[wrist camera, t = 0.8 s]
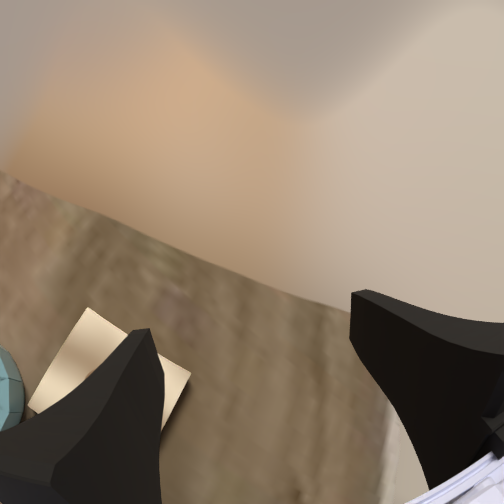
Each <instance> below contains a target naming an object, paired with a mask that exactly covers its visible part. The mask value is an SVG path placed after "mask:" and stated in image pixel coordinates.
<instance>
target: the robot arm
mask: <svg viewBox="0 0 504 504" xmlns="http://www.w3.org/2000/svg"><path fill="white" fill-rule="evenodd" d="M349 339H350V341H351V343H352V345H353V347H354V349H355V351H356V353H357V355H358V357H359V358H360V360H361V361H362V363H363V364H364V366H365V367H366V369H367V370H368V371H369V373H370V374H371V375H372V377H373V378H374V380H375V381H376V382H377V384H378V385H379V386H380V388H381V389H382V391H383V392H384V393H385V395H386V396H387V398H388V399H389V400H390V402H391V404H392V405H393V407H394V408H395V410H396V412H397V414H398V416H399V418H400V420H401V422H402V423H403V425H404V427H405V429H406V432H407V434H408V436H409V438H410V440H411V442H412V444H413V446H414V449H415V451H416V454H417V456H418V459H419V461H420V464H421V466H422V469H423V472H424V475H425V478H426V481H427V484H428V487H429V491H428V492H426V493H424V494H423V495H420V496H419V497H417V498H415V499H413V500H411V501H409V502H406V503H405V504H504V323H492V322H482V321H474V320H467V319H462V318H457V317H452V316H447V315H443V314H440V313H436V312H432V311H429V310H426V309H423V308H420V307H417V306H414V305H411V304H408V303H406V302H402V301H400V300H397V299H394V298H392V297H389V296H386V295H384V294H381V293H377V292H374V291H371V290H367V289H365V290H361V291H356V292H352V293H351V318H350V336H349ZM164 401H165V373H164V370H163V368H162V365H161V362H160V359H159V356H158V353H157V350H156V347H155V344H154V341H153V338H152V335H151V332H150V328H147V329H139V330H133V331H132V332H131V333H130V334H129V335H128V336H127V337H126V338H125V339H124V340H123V341H122V342H121V343H120V344H119V345H118V346H117V347H116V349H115V350H114V351H113V352H112V353H111V354H110V355H109V356H108V357H107V358H106V359H105V360H104V361H103V363H102V364H100V365H99V366H98V367H97V368H96V369H95V370H94V371H93V372H92V373H91V374H90V375H89V376H88V377H87V378H86V379H85V380H84V381H83V382H82V383H81V384H79V385H78V386H77V387H76V388H75V389H73V390H72V391H71V392H70V393H68V394H67V395H66V396H65V397H63V398H62V399H60V400H59V401H57V402H56V403H54V404H53V405H51V406H50V407H48V408H47V409H45V410H44V411H42V412H41V413H39V414H37V415H35V416H34V417H32V418H30V419H28V420H26V421H24V422H22V423H20V424H18V425H16V426H14V427H11V428H9V429H6V430H4V431H1V432H0V502H1V503H2V504H162V500H161V489H160V474H159V446H160V436H161V427H162V418H163V410H164Z"/></svg>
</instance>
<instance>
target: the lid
mask: <svg viewBox="0 0 504 504" xmlns="http://www.w3.org/2000/svg"><path fill="white" fill-rule="evenodd" d="M127 336H128V335H127V334H126V333H124V332H123V331H121V330H120V329H118V328H117V327H115V326H114V325H112V324H111V323H109V322H108V321H107V320H105V319H104V318H102V317H101V316H99V315H98V314H97V313H95V312H94V311H92V310H91V309H90V308H87V309H86V311H85V312H84V314H83V315H82V317H81V318H80V319H79V321H78V322H77V324H76V325H75V327H74V329H73V330H72V332H71V333H70V335H69V336H68V338H67V339H66V341H65V342H64V344H63V346H62V347H61V349H60V350H59V352H58V354H57V355H56V357H55V358H54V360H53V362H52V363H51V365H50V367H49V368H48V370H47V372H46V373H45V375H44V377H43V379H42V380H41V382H40V384H39V385H38V387H37V389H36V391H35V393H34V394H33V396H32V398H31V400H30V402H29V403H28V406H29V407H30V408H31V409H33V410H34V411H35V412H36V413H38V414H39V413H41V412H42V411H44V410H45V409H47V408H48V407H50V406H51V405H53V404H54V403H56V402H57V401H59V400H60V399H62V398H63V397H65V396H66V395H67V394H68V393H70V392H71V391H72V390H73V389H75V388H76V387H77V386H78V385H79V384H81V383H82V382H83V381H84V380H85V379H86V378H87V377H88V376H89V375H90V374H91V373H92V372H93V371H94V370H95V369H96V368H97V367H98V366H99V365H100V364H102V363H103V361H104V360H105V359H106V358H107V357H108V356H109V355H110V354H111V353H112V352H113V351H114V350H115V349H116V347H117V346H118V345H119V344H120V343H121V342H122V341H123V340H124V339H125V338H126V337H127ZM158 356H159V359H160V362H161V365H162V368H163V370H164V373H165V401H164V410H163V418H162V427H161V431H162V429H163V427H164V425H165V423H166V421H167V419H168V417H169V415H170V413H171V411H172V409H173V407H174V406H175V404H176V402H177V400H178V398H179V396H180V394H181V392H182V390H183V388H184V386H185V384H186V382H187V380H188V378H189V377H190V375H191V373H190V372H188V371H187V370H185V369H183V368H181V367H180V366H178V365H176V364H174V363H173V362H171V361H169V360H167V359H166V358H164V357H162V356H161V355H159V354H158Z"/></svg>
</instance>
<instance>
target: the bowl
mask: <svg viewBox="0 0 504 504" xmlns="http://www.w3.org/2000/svg"><path fill="white" fill-rule="evenodd" d="M24 405H25V393H24V386H23V381H22V377H21V374H20V372H19V369H18V367H17V365H16V363H15V361H14V360H13V358H12V356H11V354H10V353H9V352H8V351H7V350H6V349H5V348H4V347H3V346H2V345H1V344H0V432H1V431H4V430H6V429H9V428H11V427H14V426H16V425H18V424H19V423H20V420H21V418H22V415H23V411H24Z"/></svg>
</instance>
